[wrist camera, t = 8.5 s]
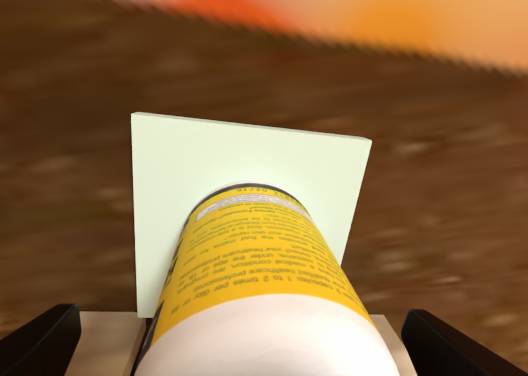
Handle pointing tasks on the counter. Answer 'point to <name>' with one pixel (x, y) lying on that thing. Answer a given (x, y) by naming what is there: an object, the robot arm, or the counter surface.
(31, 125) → the counter surface
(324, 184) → the pad
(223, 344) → the supplement bottle
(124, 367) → the open frame
